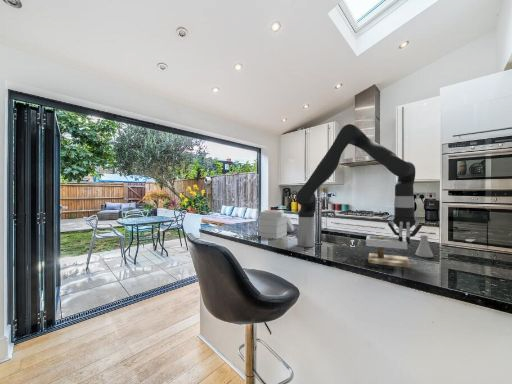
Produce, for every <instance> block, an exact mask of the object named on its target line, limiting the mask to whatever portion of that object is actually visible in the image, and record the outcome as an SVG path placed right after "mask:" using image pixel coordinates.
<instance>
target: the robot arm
mask: <svg viewBox="0 0 512 384" xmlns="http://www.w3.org/2000/svg"><path fill="white" fill-rule="evenodd" d="M349 145H351V146H354V147H356V148H359V149H360V150H362V151H364V152H365V153H366V154H368V155H369V156H370V157H371V158H372V159H374V161H376V162H378V163H379V164H381V165H382V166H384V167H385V169H387V170H388V171H389V172H390V173H391V174H392V175H395V176H396V177H397V183H396V184H395V186H394V199H393V200H394V203H393V207H394V208H393V209H394V210H393V211H394V215H393V216H394V217H393V220H392V221H390V222H389V221H388V222H387V226H388V227H389V229H390V230H391V231H392V233H393V235H395V236H397V237H398V238H399V241H402V240H403V238H404V237H403V230H405V232H406V233H405V234H406V236H405V239H406V241H407V247H408V246H409V245H410V244H411V237H415V236H416V235H417V233H418V232H419V230H420V229H421V228H422V227H423V225H422V224H421V223H418V222H417V221H416V219H415V200H414V199H415V196H414V183H415V179H416V166H415V164H413V163H412V162H409V161H406V160H404V159H402V158H400V157H399V156H397V154H396V153H395V152H393V151H392V150H390V149H389V148H387V147H385V146H384V145H381V144H380V143H378V142H376V141H374V140H372V139H371V138H370V137H368V136H367V135H366V133H364V132H363V131H362V130H361V128H359V127H358V126H357V125H355V124H352V123H347V124H345V125H344V126H343V127H342V128H341V129H340V130H339V132H338V134H337V136H336V138H335V139H334V141H333V143H332V145H331V146H330V148H329V149H328V150H327V151H326V154H325V155H324V156H323V157H322V159H321V160H320V161H319V163H318V164H317V166H316V168H315V170H314V171H313V172H312V173H311V175H310V176H309V178H308V180H307V181H306V182H305V184H304V185H302V187H300V189H299V190H298V191H297V193H296V196H295V200H296V203H297V204H298V205H300V210H299V211H298V215H297V216H298V222H297V223H298V229H297V230H296V231H297V246H298V247H303V248H312V247H315V243H316V241H315V213H316V210H317V209H316V203H317V200H316V199H317V198H316V197H317V196H316V191H317V189H318V188H320V187H321V186H322V185H323V184H325V183H326V182H327V181H328V180H329V179H330V177H332V176H333V174H334V173H335V171H336V170H337V168H338V166H339V164H340V160H341V156H342V154H343V152H344V150H345V149H346V148H347V147H348V146H349ZM395 225H396V227H397V228H398V232H397V230H396V229H395V227H394V226H395ZM413 226H414V229H413V230H412V232H411V228H412V227H413Z"/></svg>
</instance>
